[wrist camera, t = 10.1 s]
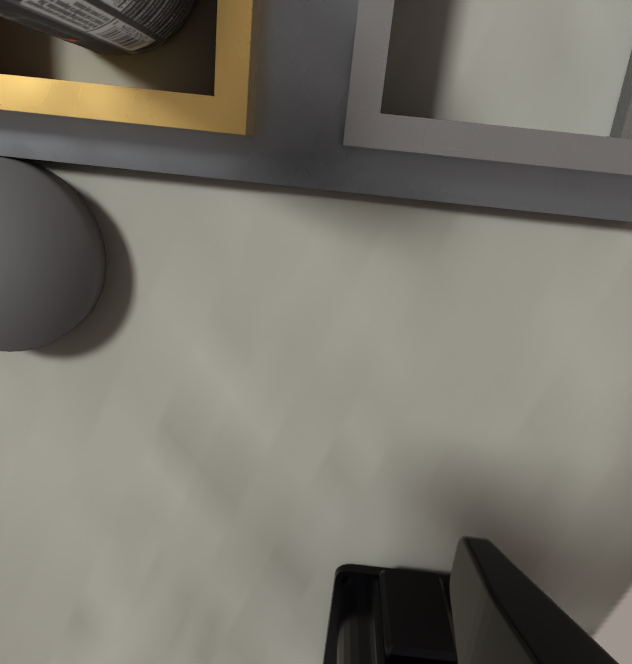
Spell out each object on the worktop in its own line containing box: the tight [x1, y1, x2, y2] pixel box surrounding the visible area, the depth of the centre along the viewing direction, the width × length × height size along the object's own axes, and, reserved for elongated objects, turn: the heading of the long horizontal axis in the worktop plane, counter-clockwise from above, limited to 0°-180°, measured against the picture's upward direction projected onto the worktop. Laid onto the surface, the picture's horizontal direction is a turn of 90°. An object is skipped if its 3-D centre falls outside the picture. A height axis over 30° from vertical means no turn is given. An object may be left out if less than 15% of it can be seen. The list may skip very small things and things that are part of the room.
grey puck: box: [0, 156, 106, 352], centre depth 20 cm, size 7×7×2 cm
